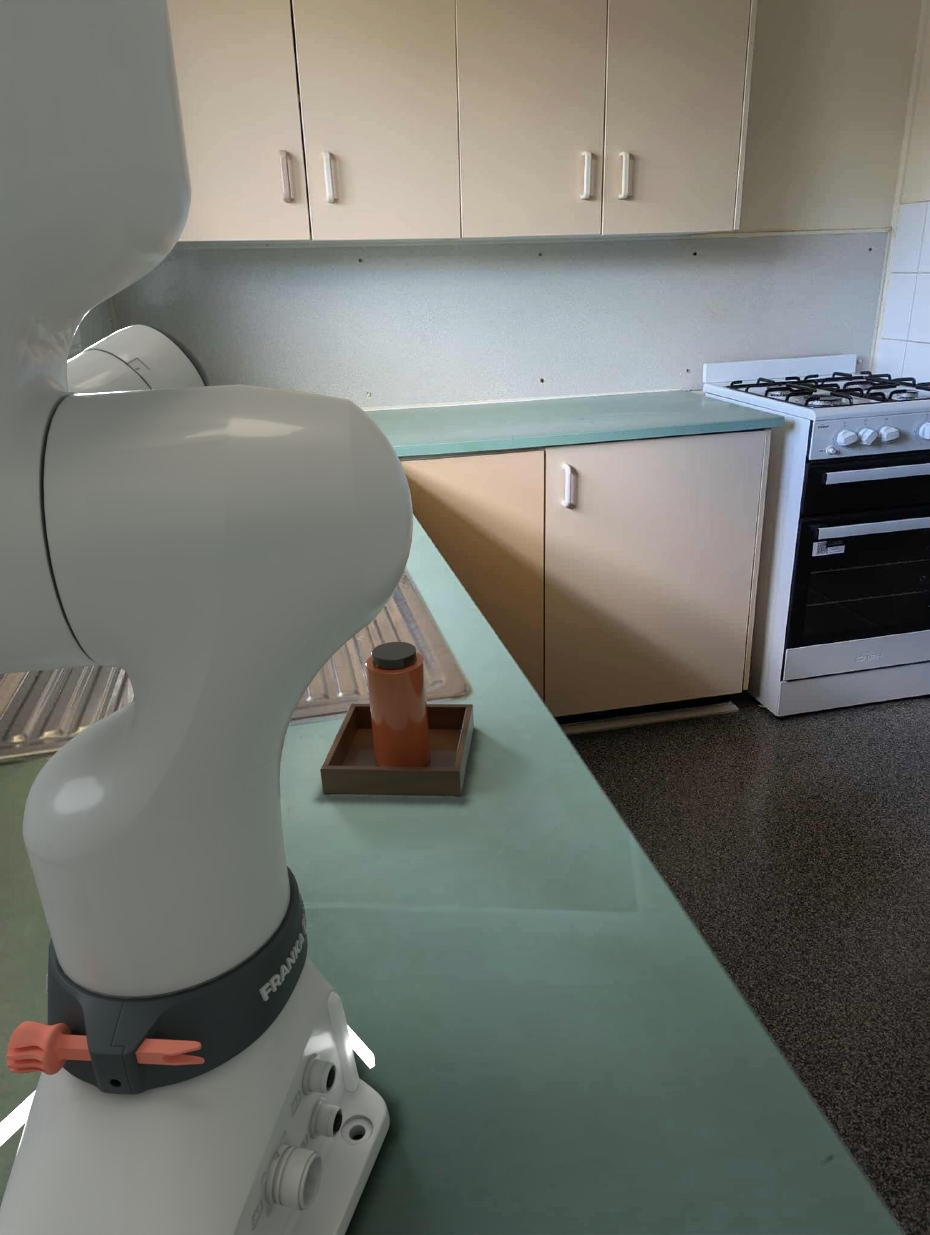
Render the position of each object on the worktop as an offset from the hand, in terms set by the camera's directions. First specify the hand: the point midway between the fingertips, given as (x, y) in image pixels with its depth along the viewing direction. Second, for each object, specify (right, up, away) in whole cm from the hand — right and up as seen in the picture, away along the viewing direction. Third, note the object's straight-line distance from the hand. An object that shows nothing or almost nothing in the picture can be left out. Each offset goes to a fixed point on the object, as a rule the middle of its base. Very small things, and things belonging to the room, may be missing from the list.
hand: (305, 627), depth 78 cm
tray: (+9, -13, +3) cm, 16 cm away
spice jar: (+9, -12, +3) cm, 15 cm away
